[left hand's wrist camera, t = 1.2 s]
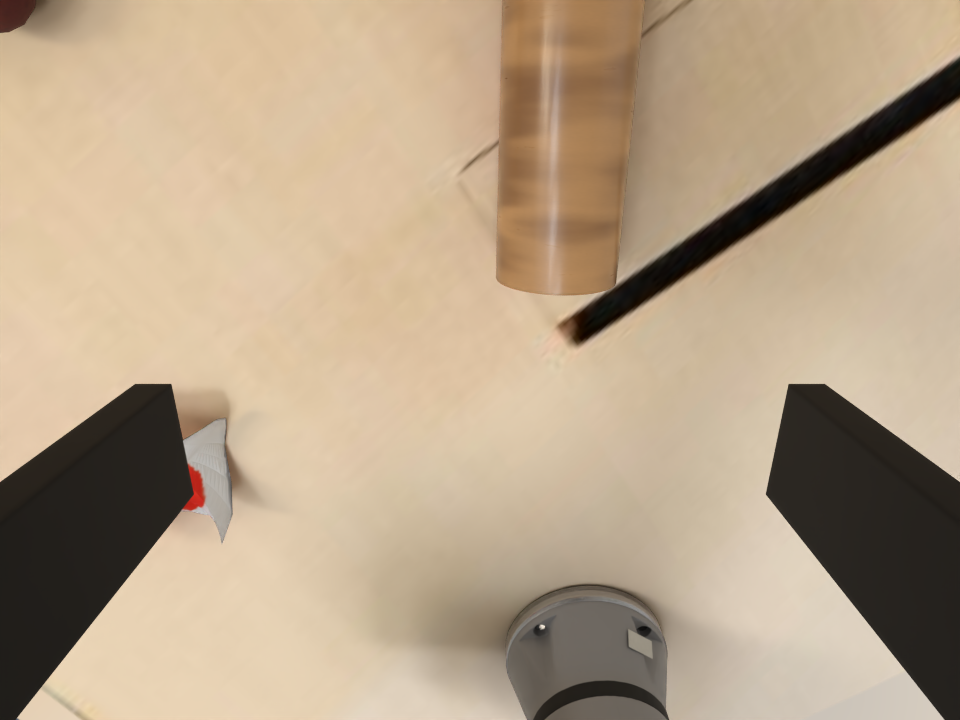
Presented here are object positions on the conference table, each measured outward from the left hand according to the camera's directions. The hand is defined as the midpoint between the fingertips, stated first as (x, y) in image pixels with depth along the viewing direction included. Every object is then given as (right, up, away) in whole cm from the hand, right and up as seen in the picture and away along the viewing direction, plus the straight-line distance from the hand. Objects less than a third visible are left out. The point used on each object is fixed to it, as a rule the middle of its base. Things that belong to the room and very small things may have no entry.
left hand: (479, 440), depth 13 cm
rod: (+5, +21, +25) cm, 33 cm away
